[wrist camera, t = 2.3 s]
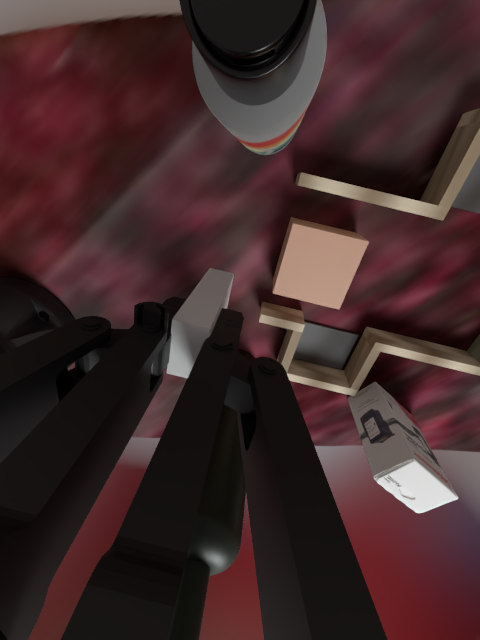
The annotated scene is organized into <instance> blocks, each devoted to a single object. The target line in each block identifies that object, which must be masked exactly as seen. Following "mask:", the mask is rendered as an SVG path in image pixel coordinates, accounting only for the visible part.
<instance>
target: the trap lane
mask: <svg viewBox="0 0 480 640" xmlns="http://www.w3.org/2000/svg"><path fill="white" fill-rule="evenodd" d="M295 184H296V185H298V186H303V187H307V188H311V189H315V190H319V191H323V192H327V193H331V194H336V195H340V196H344V197H348V198H352V199H356V200H360V201H364V202H369V203H373V204H377V205H381V206H385V207H389V208H393V209H397V210H402V211H406V212H410V213H414V214H418V215H422V216H426V217H430V218H435V219H439V220H444V218H445V216H446V214H447V213H448V211H449V209H450V207H454V208H458V209H462V210H466V211H471V212H475V213H479V214H480V108H478V109H475V110H472V111H469V112H466V113H463V115H462V117H461V119H460V121H459V123H458V125H457V127H456V129H455V131H454V133H453V135H452V137H451V139H450V141H449V143H448V145H447V147H446V149H445V151H444V153H443V155H442V157H441V159H440V161H439V163H438V165H437V167H436V169H435V171H434V173H433V175H432V177H431V179H430V181H429V183H428V185H427V187H426V189H425V191H424V193H423V195H422V197H421V199H420V201H417V200H413V199H409V198H405V197H400V196H396V195H392V194H388V193H384V192H380V191H376V190H372V189H367V188H363V187H359V186H355V185H351V184H347V183H343V182H339V181H334V180H330V179H326V178H322V177H318V176H314V175H310V174H306V173H301V172H300V173H298V175H297V179H296V182H295ZM259 322H261V323H265V324H269V325H273V326H277V327H282V328H286V329H287V332H286V334H285V337H284V340H283V343H282V346H281V349H280V352H279V355H278V357H277V360H276V361H278V362H279V363H280V364H282V365H283V367H284V368H285V370H286V373H287V375H288V378H289V380H290V381H294V382H298V383H302V384H306V385H310V386H314V387H318V388H323V389H327V390H331V391H335V392H339V393H343V394H347V395H351V396H355V395H356V393H357V392H358V390H359V388H360V386H361V385H362V383H363V381H364V379H365V378H366V376H367V374H368V372H369V371H370V369H371V367H372V366H373V364H374V362H375V360H376V359H377V357H378V355H379V353H380V352H384V353H389V354H393V355H397V356H401V357H405V358H409V359H413V360H417V361H421V362H426V363H430V364H434V365H438V366H442V367H446V368H450V369H454V370H459V371H463V372H467V373H471V374H475V375H479V376H480V334H479V335H478V337H477V338H476V339H475V341H474V342H473V343H472V345H471V346H470V347H469V348H468V350H467V351H465V350H461V349H457V348H453V347H448V346H444V345H440V344H436V343H432V342H428V341H424V340H420V339H415V338H411V337H407V336H403V335H399V334H395V333H391V332H387V331H383V330H378V329H374V328H370V327H366V328H365V330H364V332H363V334H362V336H361V338H360V340H359V342H358V344H357V346H356V348H355V350H354V352H353V354H352V356H351V358H350V360H349V361H348V363H347V365H346V367H345V369H344V370H340V369H342V367H343V365H344V364H345V362H346V360H347V358H348V356H349V354H350V352H351V350H352V348H353V346H354V344H355V342H356V340H357V338H358V336H359V335H358V334H356V333H351V332H347V331H343V330H339V329H335V328H331V327H327V326H323V325H319V324H314V323H310V322H306V321H304V317H303V312H302V311H300V310H296V309H292V308H288V307H284V306H280V305H275V304H271V303H267V302H263V301H262V304H261V308H260V316H259ZM294 358H296V359H294ZM299 359H300V360H299ZM303 360H304V361H303ZM307 361H308V362H307ZM311 362H312V363H311ZM315 363H316V364H315ZM319 364H320V365H319ZM323 365H325V366H323ZM327 366H329V367H327ZM331 367H333V368H331ZM336 368H337V369H336Z"/></svg>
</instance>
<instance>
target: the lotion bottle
mask: <svg viewBox="0 0 480 640" xmlns="http://www.w3.org/2000/svg"><path fill="white" fill-rule="evenodd" d="M180 5H181V10H182V14H183V18H184V21H185V24H186V27H187V29H188V32H189V34H190V36H191V38H192V57H193V66H194V72H195V77H196V80H197V84H198V87H199V90H200V93H201V95H202V97H203V99H204V101H205V103H206V104H207V106H208V108H209V109H210V111H211V112H212V113H213V115H214V116H215V117H216V118H217V119H218V120H219V121H220V122H221V123H222V124H223V125H224V126H225V127H226V128H227V129H228V130H229V131H230V132H231V133H232V134H233V135H234V136H235V137H236V138H237V139H238V140H239V141H240V142H241V143H242V144H243V145H244V146H245V147H246V148H248V149H249V150H250V151H252V152H254V153H256V154H260V155H271V154H274V153H277V152H279V151H280V150H282V149H283V148H284V147H286V146H287V145H288V144H289V142H290V141H291V140H292V138H293V137H294V135H295V133H296V131H297V129H298V127H299V125H300V123H301V121H302V119H303V116H304V114H305V112H306V110H307V108H308V106H309V104H310V102H311V100H312V97H313V95H314V93H315V91H316V88H317V86H318V83H319V80H320V77H321V74H322V71H323V67H324V62H325V56H326V47H327V29H326V19H325V14H324V9H323V5H322V2H321V0H180Z"/></svg>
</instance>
